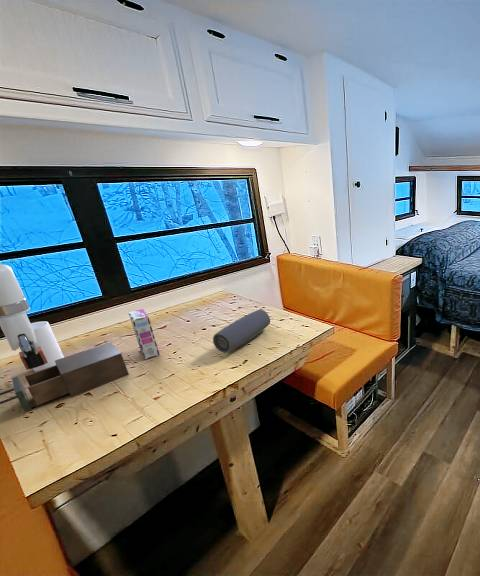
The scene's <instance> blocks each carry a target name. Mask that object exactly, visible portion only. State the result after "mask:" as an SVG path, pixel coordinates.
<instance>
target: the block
mask: <svg viewBox="0 0 480 576" xmlns="http://www.w3.org/2000/svg"><path fill="white" fill-rule="evenodd" d="M36 349H37V352H38V353H40V355H41V357H42V359H43V361H44V363H45V364H46V363H48V362H47V359H46V357H45V355H44V353H43V351H42V349H41V347H40V346H39V347H36ZM34 352H35V351H34ZM18 354H19V357H20V360H21V363H22V364H23V367H24V368H25V370H26V371H27V370H30V369H29V368H28V366H27V364H26V362H25V360H24V358H23V357H24V355H23V353H22V351H19V352H18Z"/></svg>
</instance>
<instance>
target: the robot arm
mask: <svg viewBox="0 0 480 576" xmlns="http://www.w3.org/2000/svg"><path fill="white" fill-rule="evenodd" d="M29 311H31V306H30V305H29V303H28V300H27V298H26V296H25V294H24V292H23V290H22V287H21V285H20V283H19V281H18V278H17V277H16V275H15V273H14V270H13V269H12V267H11V266H9V265H8V264H3V263H2V264H1V263H0V329H1V331H2V332H3V334H4V337H5V338H6V340H7V342H8V345H9V346H10V348H11V351H17V350H20V352H22V353H23V355H24V357H23V358H24V360H25V362H26V364H27V366H28V368H29V369H28V370H33V368H36V367H39V366H42V365H44V364H45V363H44V361H43V359H42V357H41V355H40V353H38V352H37V349H36V346H35V344H36V343H37V342H36V338H35V334H34V331H33V328H32V326H31V323H32V322H31V320H30V319H29V317H28V315H27V312H29ZM34 351H35V352H34Z"/></svg>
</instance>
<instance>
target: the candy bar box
mask: <svg viewBox="0 0 480 576" xmlns="http://www.w3.org/2000/svg"><path fill="white" fill-rule="evenodd" d="M128 316H129V319H130V321H131V325H132V329H133V331H134V336H135V338H136V341H137V344H138V347H139V350H140V352H141V354H142V357H143V358H144V360H149V359H152V358H156V357H158V356H160V355H161V354H160V351H159V347H158V344H157V341H156V338H155V334H154V331H153V328H152V324H151V321H150V317H149V316H148V315H147V313H146V311H145V310H144V309H143V308H141V309H137V310H133V311H130V312H128Z"/></svg>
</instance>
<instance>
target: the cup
mask: <svg viewBox="0 0 480 576" xmlns="http://www.w3.org/2000/svg"><path fill="white" fill-rule="evenodd" d="M30 323H31V326H32V328H33V331H34V334H35V338H36V342H37V343H36V344H35V346H36V347H39V346H40V347H41V349H42V351H43V353H44V355H45V357H46V359H47V362H48V363H46V364H44V365H42V366H39V367H36V368H33V369H32V370H33V371H34V372H37V371H40V370H42V369H45V368H48V367H51V366H54V365H56V363H55V360H58V359H61V358H64V357H65V356H64V353H63V352H62V349H61V347H60V345H59V343H58V340H57V339H56V336H55V333H54V332H53V330H52V328H51V325H50V323H49V321H45V320H44V321H34V322H30Z"/></svg>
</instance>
